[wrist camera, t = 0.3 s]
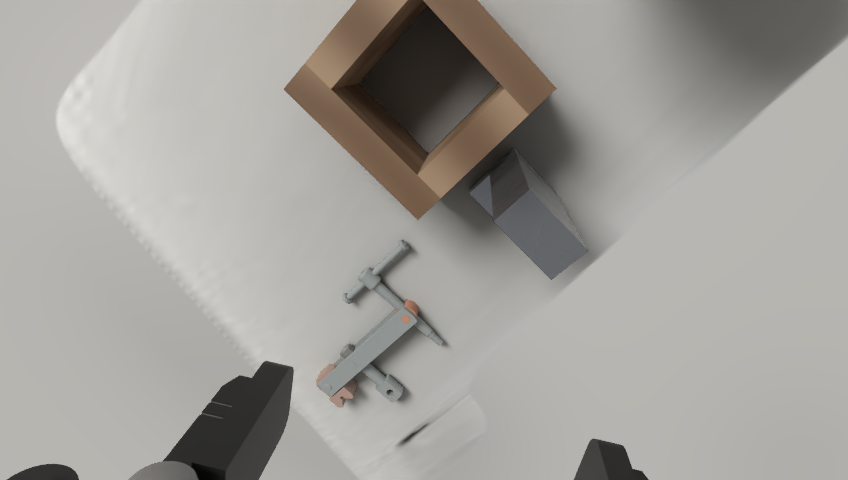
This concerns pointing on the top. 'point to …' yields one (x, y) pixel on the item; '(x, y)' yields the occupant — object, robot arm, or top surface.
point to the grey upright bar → (529, 213)
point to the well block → (379, 132)
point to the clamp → (373, 341)
